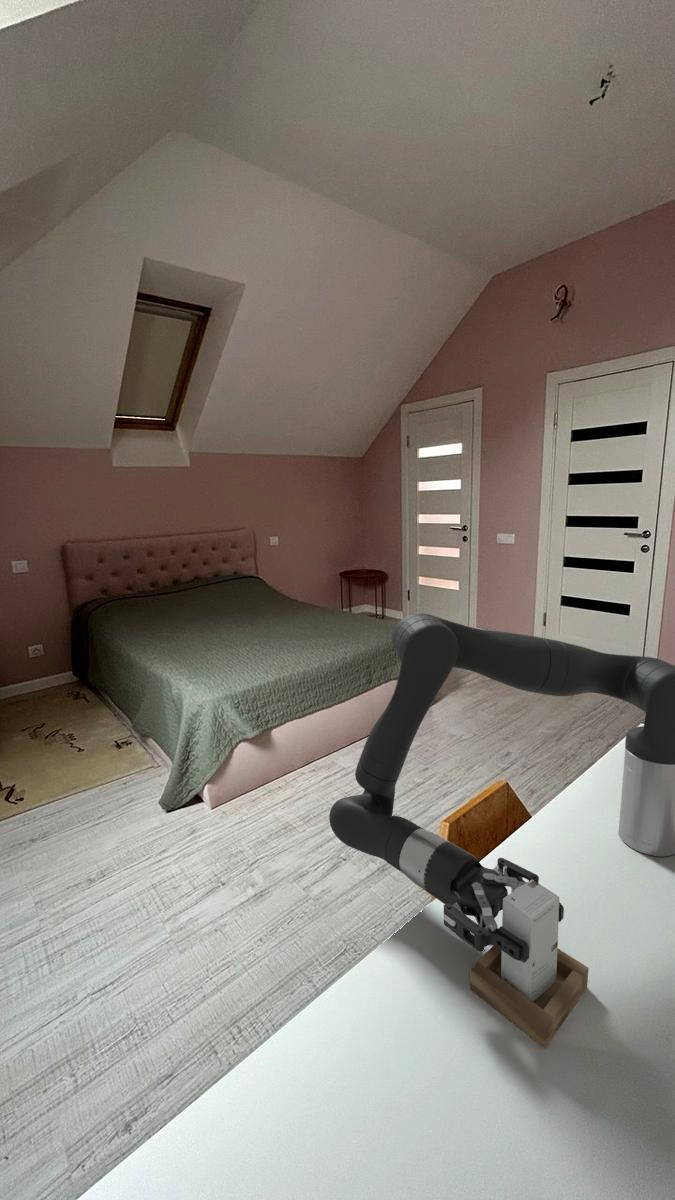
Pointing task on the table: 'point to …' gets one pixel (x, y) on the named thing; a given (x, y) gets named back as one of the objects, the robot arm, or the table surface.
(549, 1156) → the table surface
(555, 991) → the wooden tray
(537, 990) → the skincare box
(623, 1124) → the table surface
